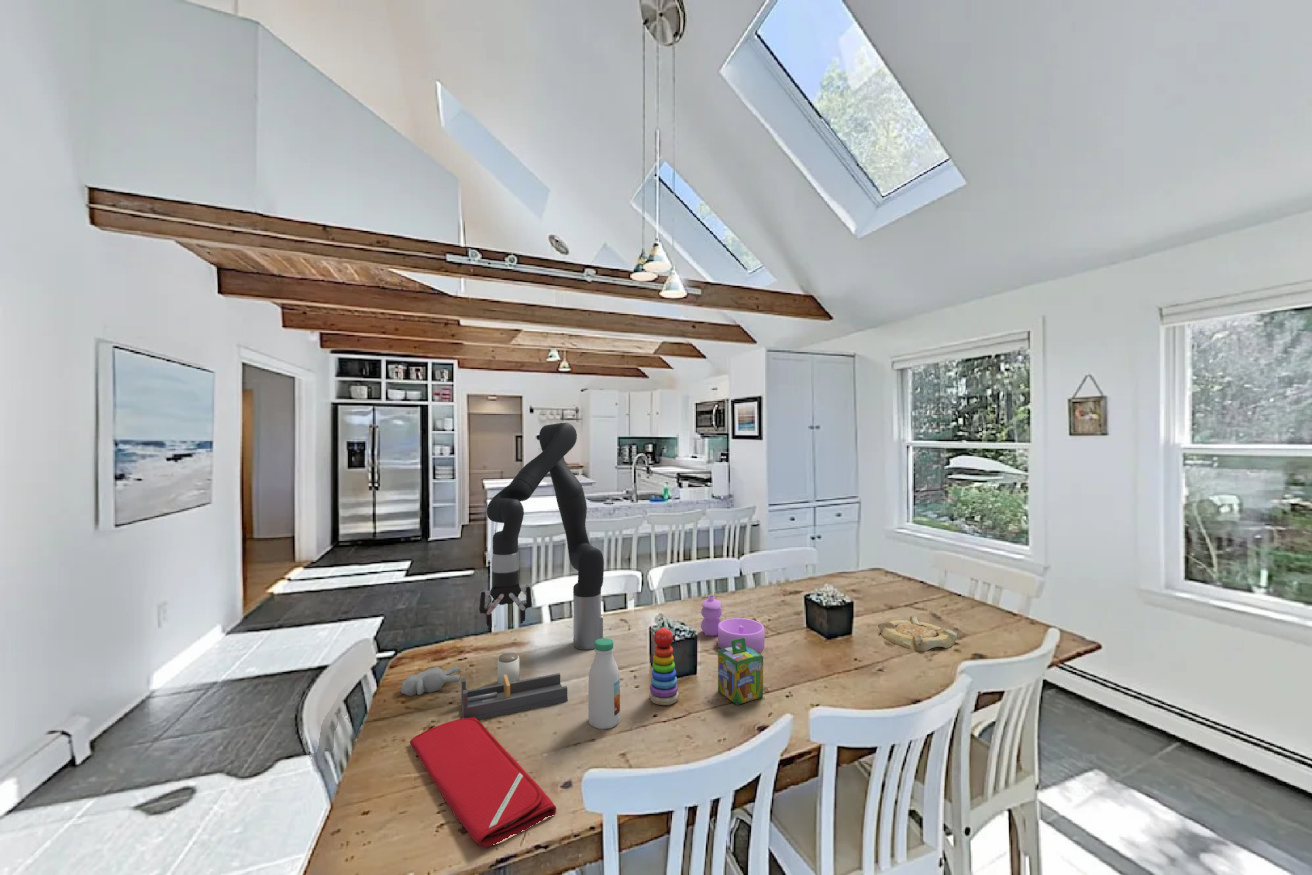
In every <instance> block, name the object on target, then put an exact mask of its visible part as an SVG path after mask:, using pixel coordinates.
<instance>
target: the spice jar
mask: <svg viewBox="0 0 1312 875" xmlns="http://www.w3.org/2000/svg"><path fill="white" fill-rule="evenodd" d="M496 660H497V667H496V668H497V685H498V684H504V675H507V677H508V680H509V682H515V681H520V656H519V655H518V653H516V652H505V653H501V654H500V655H499V657H498V658H497V659H496Z"/></svg>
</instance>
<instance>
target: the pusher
mask: <svg viewBox="0 0 1312 875" xmlns="http://www.w3.org/2000/svg"><path fill="white" fill-rule="evenodd" d="M509 697H510V683H509V680H508V677H507V675H504V692H503V693H498V694H497V692H495V693H489V694H484V695H479V696H474V697H468V702H470V701H475V700H480V699H481V703H483V702H488V701H493V700H499V699H504V698H509Z"/></svg>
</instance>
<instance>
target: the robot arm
mask: <svg viewBox="0 0 1312 875" xmlns="http://www.w3.org/2000/svg"><path fill="white" fill-rule="evenodd" d="M576 430H577V429H576V428H575V427H574V425H572V424H571V423H570V422H569V423H568V422H558V423H557V422H556V423H552V424H551V423H550V424H545V425H544V426H542V427H541V429H540V430H539V434H538V437H539V438H538V441H539V446H540V448H541V453H539V454H538V455H536V456H535V457H534V458H532V459H531V460H530V461H529V462H527V463H526V464H525V465H524V466H523V467H522V468H521V469H520V470H519V472H517V474H516V475H515V477H513V479H512V480H511V482H510V483H509V484H508V485H507V486H505V487H504V488H503V489H501V490H500V491H499V492H498V493H496V495H494V496H493V497H492V498H491V500H490V501H489V502H488V504H487V506H486V516H487V518H488V519H489V520H490V521H491V522H494V523H501V524H503V526H502V530H500V531H497V532H495V533H494V534H493V535H492V555H491V556H492V557H491V558H492V559H491V588H490V590H484V589H481V590H480V593H479V607H478V608H479V613H480V614H481V615H482V614H484V615H485V618H486V620H485V621H486V622H485V623H486V626H487V627H488V628H490V629H492V627H493V615H492V612H494V610H495V609H496V608H497V606H498V605H499V606H504V605H512V604H513V603H515V605H516V606H517V607H518V608H519V624H523V623H524V622H525V621H526V610H527V609H530V608H532V606H533V604H532V603H533V602H532V592H531V591H532V589H531V586H530V585H529V584H526V585H525V586H521V585H520V565H521V564H520V558H519V557H520V555H519V536H520V531H521V528H522V523H523V521H524V516H525V509H524V506H523V504H522V502H524V501H527V500H528V499H530V498H531V497H532V495H533V494H534V492H535V491H536V489H537V488H538V486H539V485H540V483H542V481H543V480H544V479H545V477H546V476H547V474H549V476H550V479H551V482H552V485H553V490H554V495H555V499H556V504H557V507H558V510H559V515H560V519H561V522H562V526H563V529H564V532H565V536H566V543H567V553H568V558H569V562H570V565H571V566H572V568H574V569H575V571H577V582H576V583H575V584H574V585H573V588H572V590H573V592H572V597H573V598H572V600H573V601H572V602H573V606H572V607H573V609H572V610H573V611H572V612H573V615H572V616H573V620H572V621H573V622H572V624H573V629H572V630H573V632H572V633H573V647H574V648H576V649H579V650H592V649H593V650H595V641H596V640H598V639H601V638H604V616H603V615H602V587H603V585H604V572H605V571H604V570H605V562H604V560H605V559H604V555H603V553H602V551H601V549H599V548H597V547H595V546H593V545H592V544H591V542H590V540H589V536H588V532H587V529H586V521H587V520H586V519H587V512H588V511H587V510H588V506H587V501H586V500H587V499H586V495H585V491H584V488H583V485H582V484H581V482H580V480H579V479H578V477H576V475H575V474H574V473H573V472H572V470H571V469H570V468H569V466H568V465H567V462H566V460H565V456H566V455H567V454H568V453H569V452H570V451H571V450H572V449H573V448H574V447H575V444H576V443H577V439H578V438H577V437H578V435H577V434H578V433H577V431H576ZM521 592H522V593H523V595H525V602H524V603H523V602H522V601H521V599H520V598H519V596H520V594H521ZM489 596H491V597H492V600H491V601H490V603H489V605H488V606H487V607H485V604H486V599H488V597H489Z"/></svg>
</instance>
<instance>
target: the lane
mask: <svg viewBox="0 0 1312 875" xmlns="http://www.w3.org/2000/svg"><path fill="white" fill-rule="evenodd" d="M460 681H461V682H460V683H461V684H460V685H461V691H460V692H461V700H460V701H461V704H460V705H461V713H462V718H472V717H475V718H476V719H477V720H478V721H479V720H484V719H488V718H493V717H499V716H502V715H503V716H505V715H508V714H513V713H518V712H522V711H527V710H533V709H536V708H537V709H538V708H541V707H546V706H551V705H555V704H556V705H557V704H560V703H566V702H568V686H566V685H565V686H564V685H563V686H562V683H561V674H560V672H559V673H554V674H548V675H543V676H537V677H536V676H535V677H532V678H527V679H521V680H520V679H519V681H515V682H509V683H510V697H509V698H504V699H499V700H493V701H488V702H483V703H481V699H480V700H475V701H470V702H468V697H474V696H479V695H484V694H489V693H495V692H497V694H498V693H503V692H504V684H498V683H497V684H495V685H488V686H484V687H479V688H478V687H477V688H473V689H472V688H471V689H467V680H466V677H464V678H463V677H462V678H460Z"/></svg>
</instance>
